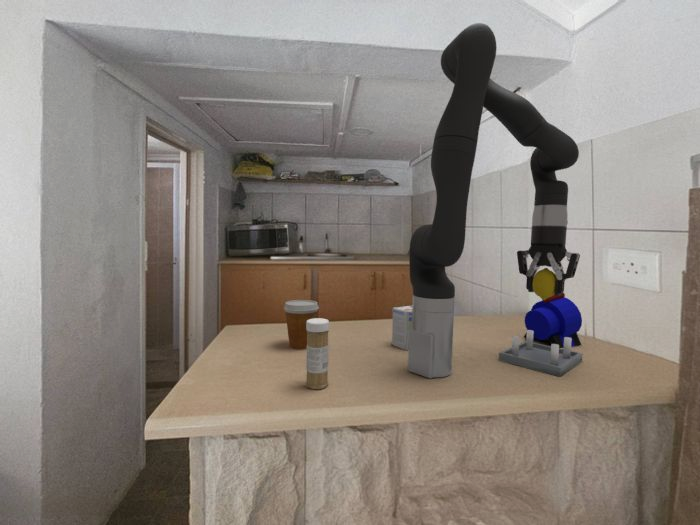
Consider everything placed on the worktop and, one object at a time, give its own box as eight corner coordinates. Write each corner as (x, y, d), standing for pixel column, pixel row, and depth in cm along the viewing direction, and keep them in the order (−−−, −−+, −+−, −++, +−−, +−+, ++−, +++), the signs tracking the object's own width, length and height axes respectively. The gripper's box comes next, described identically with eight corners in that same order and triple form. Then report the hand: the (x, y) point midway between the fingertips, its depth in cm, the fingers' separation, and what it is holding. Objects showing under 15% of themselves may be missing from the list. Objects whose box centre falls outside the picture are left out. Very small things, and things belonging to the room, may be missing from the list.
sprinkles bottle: (317, 379, 77) (318, 316, 76) (332, 385, 74) (333, 320, 73) (300, 385, 74) (301, 319, 73) (316, 392, 70) (316, 323, 69)
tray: (560, 376, 81) (561, 350, 80) (498, 360, 91) (499, 336, 91) (582, 361, 92) (583, 337, 91) (524, 348, 102) (525, 326, 102)
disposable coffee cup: (299, 339, 107) (300, 298, 106) (325, 345, 101) (326, 302, 100) (276, 346, 99) (276, 303, 98) (302, 353, 93) (302, 307, 93)
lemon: (543, 302, 87) (545, 268, 86) (526, 298, 92) (528, 266, 92) (562, 302, 88) (564, 269, 88) (544, 298, 93) (546, 267, 93)
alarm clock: (583, 345, 106) (586, 294, 105) (552, 349, 101) (555, 296, 100) (546, 334, 117) (549, 288, 116) (517, 338, 113) (520, 289, 112)
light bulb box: (418, 339, 109) (419, 303, 108) (435, 345, 103) (436, 307, 102) (390, 344, 103) (391, 306, 102) (406, 351, 97) (407, 311, 97)
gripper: (512, 224, 92) (508, 291, 93) (577, 223, 81) (572, 299, 82) (525, 225, 97) (521, 289, 98) (587, 225, 86) (582, 296, 87)
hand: (544, 293), depth 90 cm, fingers closed on lemon, 5 cm apart
